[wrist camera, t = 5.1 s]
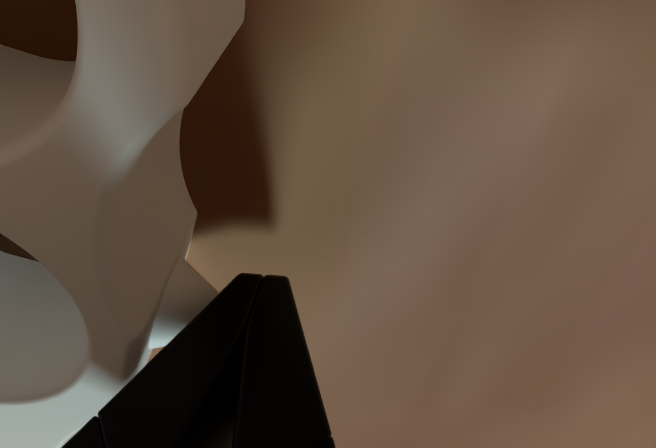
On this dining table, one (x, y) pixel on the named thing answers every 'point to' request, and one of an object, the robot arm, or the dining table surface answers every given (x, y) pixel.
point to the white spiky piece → (98, 208)
